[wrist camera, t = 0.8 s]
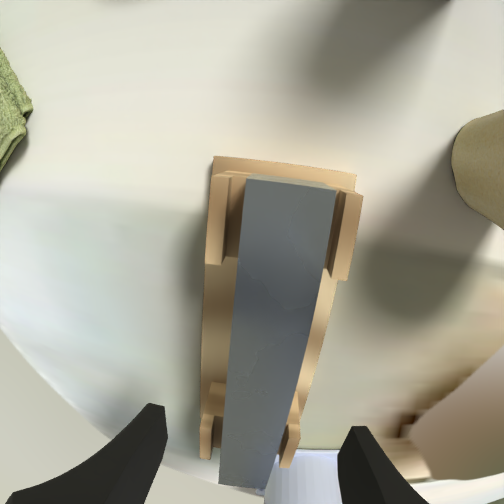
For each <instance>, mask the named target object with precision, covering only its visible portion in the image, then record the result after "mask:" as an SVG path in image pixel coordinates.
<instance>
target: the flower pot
mask: <svg viewBox="0 0 504 504" xmlns="http://www.w3.org/2000/svg"><path fill="white" fill-rule="evenodd" d="M451 165H452V169H453V173H454V177H455V182H456V188H457V191H458V192H459V194H460V196H461V197H462V199H463V200H464V201H465V203H466V204H467V205H468V206H469V207H470V208H472V209H473V210H475V211H477V212H479V213H480V214H482V215H483V216H485V217H486V218H488V219H489V220H491V221H492V222H494V223H495V224H496V225H498V226H499V227H500V228H502V229H503V230H504V110H501V111H498V112H495V113H492V114H489V115H486V116H483V117H481V118H476V119H474V120H472V121H470V122H468V123H467V124H466V125H465V126H464V127H463V128H462V129H461V130H460V132H459V133H458V135H457V137H456V140H455V142H454V146H453V150H452V158H451Z"/></svg>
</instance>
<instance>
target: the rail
mask: <svg viewBox="0 0 504 504" xmlns="http://www.w3.org/2000/svg"><path fill="white" fill-rule="evenodd" d="M336 192H337V190H335V189H333V188H332V187H330V186H328V185H326V184H325V183H323V182H316V181H309V180H302V179H295V178H288V177H280V176H272V175H264V174H255V173H252V174H251V175H250V176H248V177H247V178H246V186H245V195H244V204H243V214H242V224H241V234H240V243H239V253H238V264H237V274H236V284H235V294H234V305H233V316H232V326H231V337H230V348H229V360H228V371H227V382H226V394H225V406H224V418H223V430H222V443H221V456H220V469H219V482H218V484H223V485H230V486H239V487H248V488H258V489H266V486H267V483H268V480H269V477H270V474H271V471H272V468H273V465H274V462H275V459H276V456H277V452H278V449H279V446H280V443H281V439H282V436H283V433H284V429H285V426H286V423H287V419H288V416H289V412H290V408H291V405H292V401H293V398H294V394H295V390H296V386H297V383H298V379H299V375H300V371H301V367H302V363H303V359H304V355H305V351H306V347H307V343H308V338H309V334H310V330H311V325H312V321H313V316H314V312H315V307H316V303H317V298H318V293H319V288H320V283H321V278H322V273H323V268H324V263H325V258H326V252H327V247H328V241H329V235H330V230H331V224H332V218H333V212H334V205H335V199H336Z"/></svg>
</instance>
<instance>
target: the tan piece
mask: <svg viewBox="0 0 504 504" xmlns="http://www.w3.org/2000/svg"><path fill="white" fill-rule="evenodd" d="M252 173H255V174H264V175H272V176H280V177H288V178H295V179H302V180H309V181H316V182H323V183H325V184H326V185H328V186H330V187H332V188H333V189H335V190H337V192H336V199H335V205H334V212H333V218H332V224H331V230H330V235H329V241H328V247H327V252H326V258H325V263H324V268H323V273H322V278H321V283H320V288H319V293H318V298H317V303H316V307H315V312H314V316H313V321H312V325H311V330H310V334H309V338H308V343H307V347H306V351H305V355H304V359H303V363H302V367H301V371H300V375H299V379H298V383H297V386H296V390H295V394H294V398H293V401H292V405H291V408H290V412H289V416H288V419H287V423H286V426H285V429H284V433H283V436H282V439H281V443H280V446H279V449H278V452H277V455H279V468H290V465H291V462H292V460H293V457H294V455H295V452H296V449H297V447H298V444H299V441H300V439H301V438H300V419H301V415H302V412H303V409H304V406H305V403H306V400H307V396H308V393H309V390H310V386H311V383H312V380H313V376H314V373H315V369H316V366H317V362H318V358H319V355H320V351H321V347H322V344H323V340H324V336H325V332H326V328H327V324H328V320H329V316H330V312H331V308H332V304H333V299H334V295H335V290H336V286H337V281H338V280H344V281H347V278H348V274H349V269H350V264H351V260H352V255H353V250H354V245H355V240H356V235H357V230H358V224H359V219H360V213H361V207H362V201H363V196H362V195H360V194H358V193H356V192H354V190H355V184H356V177H357V175H355V174H351V173H345V172H339V171H333V170H327V169H321V168H314V167H308V166H301V165H293V164H286V163H278V162H270V161H261V160H252V159H243V158H232V157H221V156H214V160H213V170H212V176H211V185H210V197H209V209H208V222H207V236H206V250H205V277H204V296H203V318H202V344H201V384H200V418H201V419H202V420H201V424H200V458H202V459H208V460H210V459H211V454H212V449H213V447H216V448H221V443H222V430H223V418H224V406H225V394H226V382H227V371H228V360H229V348H230V337H231V326H232V316H233V305H234V294H235V284H236V274H237V264H238V253H239V243H240V234H241V224H242V214H243V204H244V195H245V186H246V178H247V177H248V176H250V175H251V174H252Z"/></svg>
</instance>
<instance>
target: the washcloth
mask: <svg viewBox="0 0 504 504" xmlns="http://www.w3.org/2000/svg"><path fill="white" fill-rule="evenodd" d="M32 111H33V106H32V104H31V99H29V97H28V96H27V95H26V92H25V91H24V88H23V87H22V86H21V85H20V84H19V82H18V78H17V76H16V75H15V73H14V72H13V70H12V69H11V67H10V66H9V61H8V60H7V58H6V56H5V54H4V53H3V51H2V50H1V48H0V171H1V170H2V168H3V167H4V165H5V163H6V162H7V160H8V158H9V156H10V155H11V153H12V151H13V150H14V148H15V147H16V145H17V144H18V143H19V142H20V140H21V139H22V138H23V137H24V136H25V135H26V129H25V127H24V126H25V123H26V118H27V117H28V115H29V114H30V113H31V112H32Z"/></svg>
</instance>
